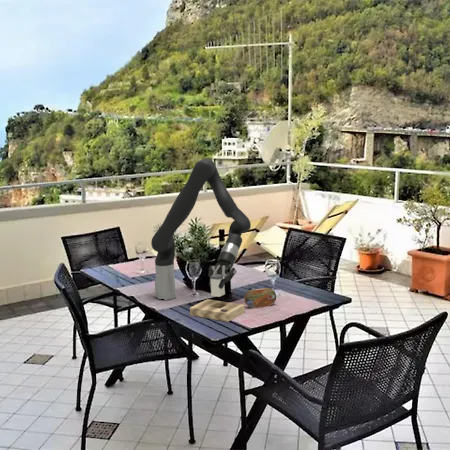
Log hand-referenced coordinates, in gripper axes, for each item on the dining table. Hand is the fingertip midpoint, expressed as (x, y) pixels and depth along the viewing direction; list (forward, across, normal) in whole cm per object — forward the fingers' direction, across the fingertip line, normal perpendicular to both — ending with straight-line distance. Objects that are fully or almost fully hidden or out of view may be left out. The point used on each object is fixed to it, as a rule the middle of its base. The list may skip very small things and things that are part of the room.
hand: (215, 287), depth 249 cm
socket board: (+8, 0, +10) cm, 13 cm away
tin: (-4, +12, +23) cm, 26 cm away
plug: (+2, 0, +4) cm, 5 cm away
